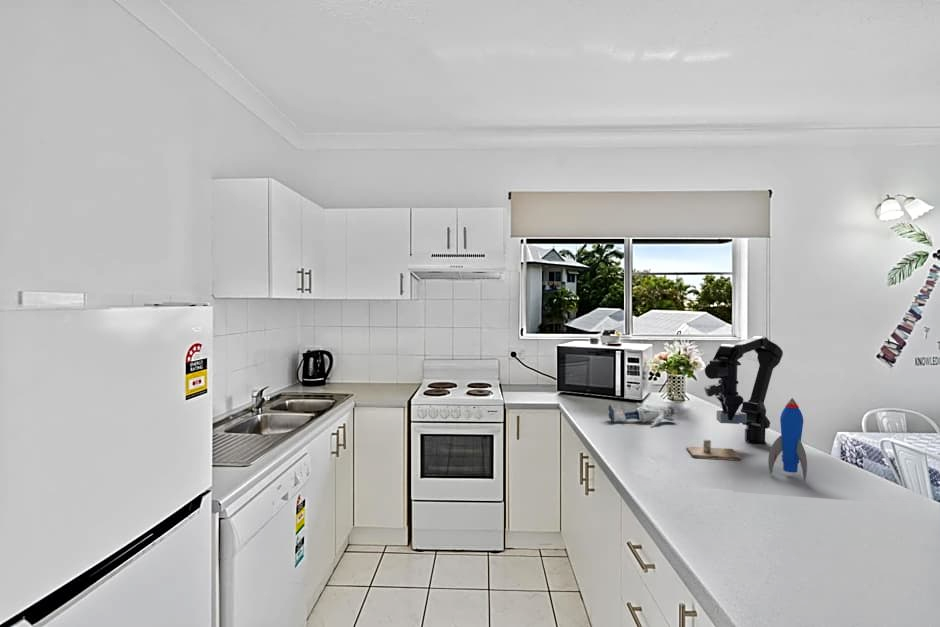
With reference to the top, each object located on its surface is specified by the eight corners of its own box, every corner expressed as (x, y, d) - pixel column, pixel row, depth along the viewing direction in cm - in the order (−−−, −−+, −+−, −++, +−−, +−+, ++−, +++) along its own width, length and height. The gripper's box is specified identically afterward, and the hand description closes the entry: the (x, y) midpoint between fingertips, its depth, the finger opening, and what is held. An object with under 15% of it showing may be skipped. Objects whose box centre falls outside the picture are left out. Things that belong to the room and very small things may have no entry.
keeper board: (732, 451, 215) (732, 438, 215) (740, 460, 203) (741, 446, 203) (686, 448, 218) (686, 435, 218) (692, 457, 206) (692, 443, 206)
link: (743, 420, 224) (743, 411, 224) (747, 424, 217) (748, 415, 217) (716, 419, 225) (716, 410, 225) (720, 423, 219) (720, 413, 219)
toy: (604, 396, 275) (668, 392, 274) (604, 412, 277) (668, 408, 276) (616, 418, 253) (685, 413, 252) (616, 435, 255) (685, 431, 255)
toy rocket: (807, 482, 180) (809, 401, 179) (773, 479, 181) (775, 400, 181) (795, 472, 190) (797, 395, 189) (763, 469, 192) (765, 394, 191)
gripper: (701, 373, 232) (700, 412, 232) (711, 380, 213) (710, 422, 214) (731, 374, 230) (730, 414, 230) (744, 381, 211) (743, 424, 212)
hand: (727, 418), depth 222 cm, fingers closed on link, 7 cm apart
